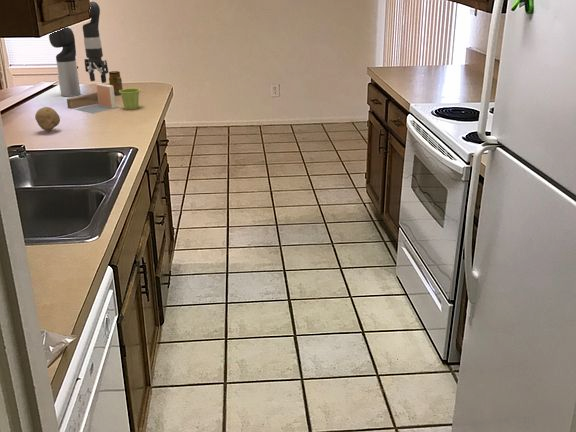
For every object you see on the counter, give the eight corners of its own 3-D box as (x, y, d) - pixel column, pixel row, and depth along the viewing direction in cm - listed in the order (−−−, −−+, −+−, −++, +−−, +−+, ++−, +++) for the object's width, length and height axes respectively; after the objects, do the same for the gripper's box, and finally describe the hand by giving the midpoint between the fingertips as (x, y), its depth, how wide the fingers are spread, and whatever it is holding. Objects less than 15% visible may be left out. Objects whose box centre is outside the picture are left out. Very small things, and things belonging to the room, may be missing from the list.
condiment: (120, 93, 317) (117, 70, 312) (127, 96, 311) (125, 72, 306) (107, 95, 313) (104, 71, 308) (114, 98, 307) (111, 74, 302)
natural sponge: (54, 127, 255) (50, 103, 252) (66, 130, 250) (62, 106, 246) (34, 132, 249) (29, 107, 245) (45, 135, 244) (41, 110, 240)
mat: (74, 110, 283) (74, 109, 282) (101, 104, 294) (101, 103, 293) (93, 114, 275) (92, 113, 274) (120, 108, 286) (119, 107, 285)
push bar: (68, 109, 286) (66, 99, 284) (109, 100, 304) (108, 90, 302) (72, 110, 284) (71, 99, 282) (114, 101, 302) (113, 90, 300)
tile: (98, 105, 289) (95, 84, 285) (102, 104, 290) (99, 83, 287) (112, 108, 283) (109, 86, 279) (116, 107, 285) (113, 85, 281)
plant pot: (116, 110, 282) (114, 91, 279) (130, 106, 290) (128, 87, 287) (132, 112, 278) (130, 93, 275) (146, 107, 286) (144, 89, 283)
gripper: (77, 47, 289) (82, 81, 295) (96, 48, 281) (101, 84, 287) (90, 45, 294) (95, 79, 300) (109, 46, 286) (114, 81, 292)
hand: (98, 81), depth 294 cm, fingers open, 8 cm apart
